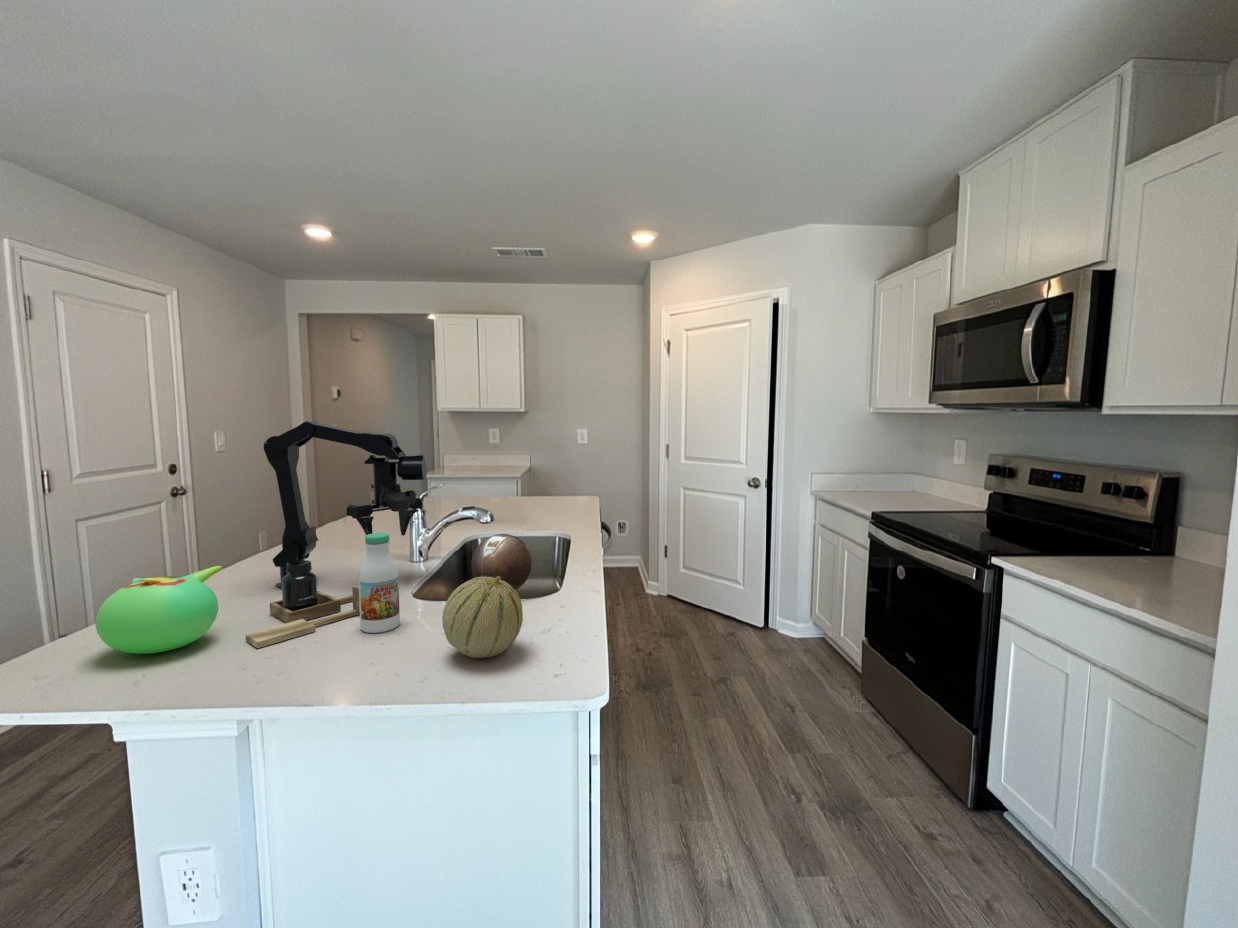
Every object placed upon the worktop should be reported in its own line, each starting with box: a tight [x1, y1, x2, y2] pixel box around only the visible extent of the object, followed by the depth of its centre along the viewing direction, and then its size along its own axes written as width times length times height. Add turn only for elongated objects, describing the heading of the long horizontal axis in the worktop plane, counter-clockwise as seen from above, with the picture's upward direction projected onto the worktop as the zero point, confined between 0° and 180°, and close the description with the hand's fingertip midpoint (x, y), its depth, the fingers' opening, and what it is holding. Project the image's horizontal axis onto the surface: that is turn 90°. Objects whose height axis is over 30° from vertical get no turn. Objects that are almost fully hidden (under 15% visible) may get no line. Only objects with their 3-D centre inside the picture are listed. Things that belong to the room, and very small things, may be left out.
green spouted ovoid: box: [95, 565, 223, 655], centre depth 104 cm, size 18×17×15 cm
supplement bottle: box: [281, 559, 319, 612], centre depth 122 cm, size 7×7×12 cm
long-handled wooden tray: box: [244, 584, 360, 649], centre depth 115 cm, size 6×24×6 cm, turn 143°
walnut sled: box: [269, 590, 353, 623], centre depth 128 cm, size 11×24×6 cm, turn 143°
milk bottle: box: [358, 532, 401, 634], centre depth 115 cm, size 8×8×20 cm
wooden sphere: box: [470, 533, 533, 591], centre depth 138 cm, size 15×15×15 cm
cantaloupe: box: [441, 576, 524, 659], centre depth 102 cm, size 15×15×15 cm
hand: (387, 538), depth 146 cm, fingers open, 9 cm apart
